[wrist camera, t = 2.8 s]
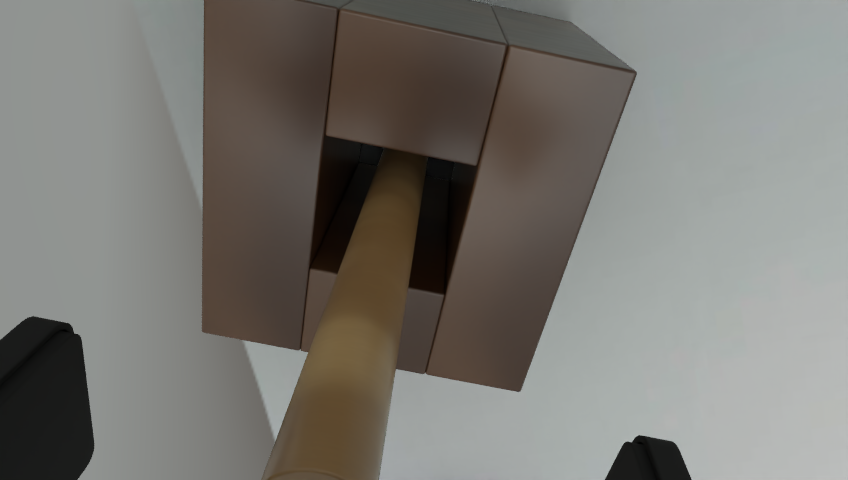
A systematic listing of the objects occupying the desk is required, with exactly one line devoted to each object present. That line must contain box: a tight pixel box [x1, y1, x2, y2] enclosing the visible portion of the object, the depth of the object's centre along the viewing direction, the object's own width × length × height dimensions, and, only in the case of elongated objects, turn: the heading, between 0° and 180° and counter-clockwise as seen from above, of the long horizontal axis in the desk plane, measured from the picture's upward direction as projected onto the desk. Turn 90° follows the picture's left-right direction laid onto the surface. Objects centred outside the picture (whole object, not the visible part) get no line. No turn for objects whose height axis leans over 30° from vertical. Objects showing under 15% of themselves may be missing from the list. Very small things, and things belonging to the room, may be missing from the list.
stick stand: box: [202, 0, 637, 392], centre depth 22 cm, size 12×12×10 cm
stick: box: [262, 148, 428, 480], centre depth 17 cm, size 2×2×20 cm
